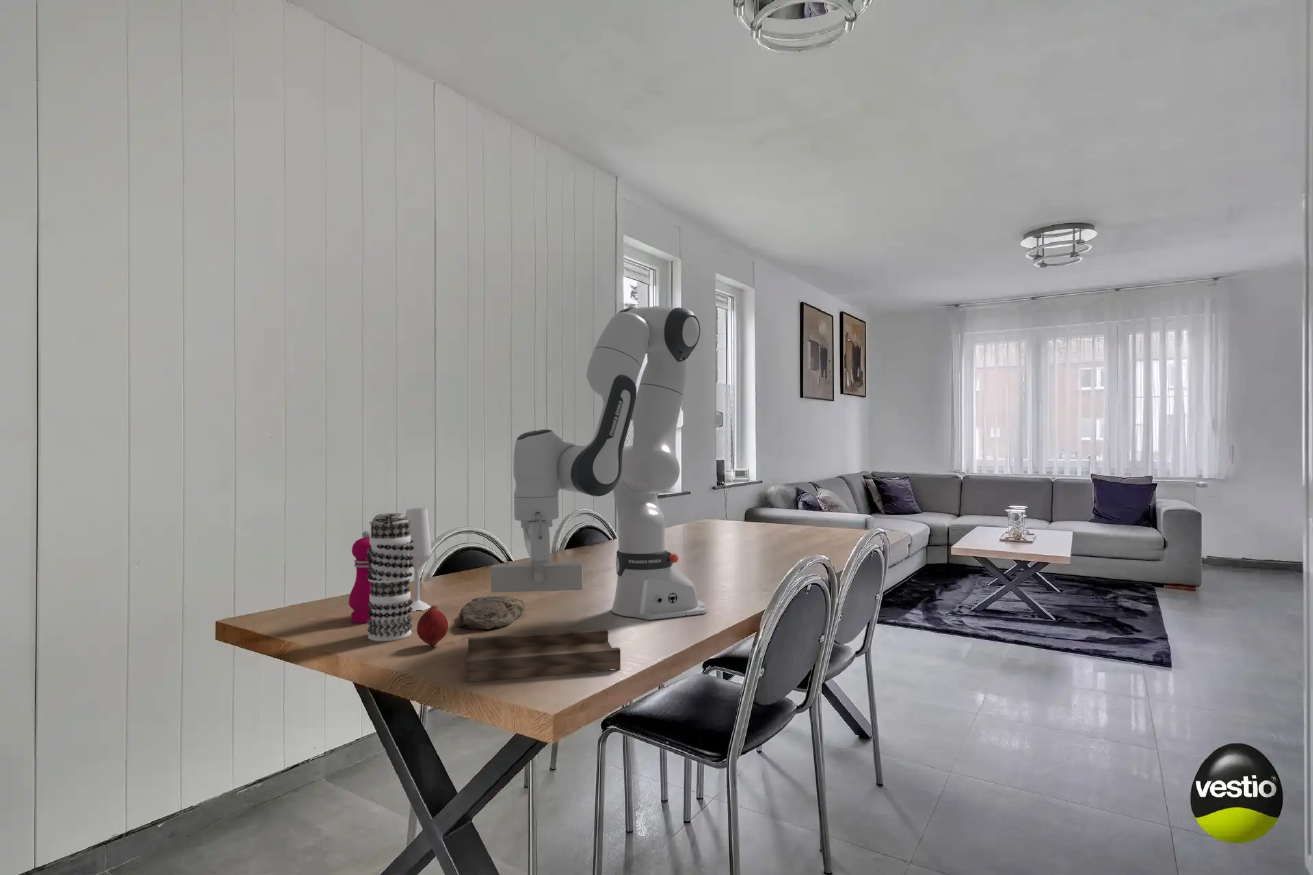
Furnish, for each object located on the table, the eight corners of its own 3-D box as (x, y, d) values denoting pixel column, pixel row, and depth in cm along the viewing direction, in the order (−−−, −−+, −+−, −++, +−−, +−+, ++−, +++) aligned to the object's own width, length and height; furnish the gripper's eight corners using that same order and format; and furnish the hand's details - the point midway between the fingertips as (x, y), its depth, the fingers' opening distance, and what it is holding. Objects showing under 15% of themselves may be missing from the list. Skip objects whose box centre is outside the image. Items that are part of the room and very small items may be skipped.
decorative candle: (423, 632, 146) (423, 513, 146) (390, 643, 138) (390, 517, 138) (390, 627, 150) (390, 511, 150) (356, 638, 141) (356, 515, 142)
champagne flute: (436, 608, 167) (436, 508, 168) (408, 612, 163) (408, 510, 163) (424, 603, 172) (424, 506, 173) (397, 607, 168) (397, 508, 168)
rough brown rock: (501, 635, 145) (531, 610, 165) (501, 611, 145) (531, 590, 165) (438, 634, 147) (475, 610, 167) (437, 611, 147) (474, 590, 167)
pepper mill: (341, 623, 154) (341, 532, 154) (361, 615, 161) (361, 528, 161) (371, 624, 152) (371, 533, 153) (389, 616, 160) (389, 529, 160)
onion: (431, 651, 132) (431, 609, 132) (410, 647, 135) (410, 606, 135) (454, 644, 137) (454, 603, 137) (433, 640, 140) (433, 600, 140)
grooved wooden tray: (606, 646, 135) (606, 628, 135) (620, 669, 122) (620, 649, 122) (468, 656, 129) (468, 638, 129) (466, 681, 116) (466, 660, 116)
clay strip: (582, 586, 142) (582, 562, 142) (582, 589, 139) (581, 564, 139) (493, 589, 141) (493, 564, 141) (491, 592, 138) (490, 567, 138)
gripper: (557, 514, 131) (558, 588, 131) (548, 505, 151) (549, 568, 151) (523, 516, 130) (524, 590, 130) (518, 506, 149) (519, 570, 149)
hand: (537, 578), depth 140 cm, fingers closed on clay strip, 3 cm apart
